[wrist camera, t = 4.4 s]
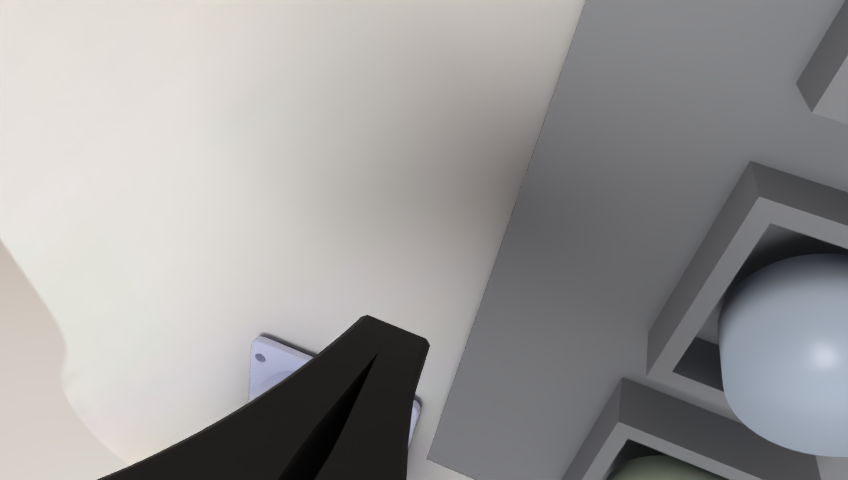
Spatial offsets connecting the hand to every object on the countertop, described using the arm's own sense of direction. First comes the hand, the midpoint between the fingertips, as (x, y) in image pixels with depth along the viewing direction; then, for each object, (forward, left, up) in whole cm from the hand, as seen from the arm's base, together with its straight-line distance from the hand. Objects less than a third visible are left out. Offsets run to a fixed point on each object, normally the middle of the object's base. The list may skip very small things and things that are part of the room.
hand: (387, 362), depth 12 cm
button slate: (0, -9, -6) cm, 11 cm away
